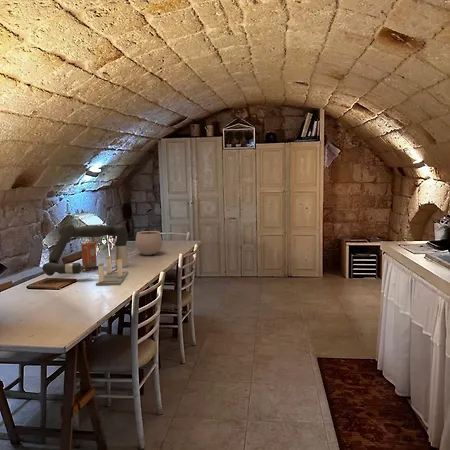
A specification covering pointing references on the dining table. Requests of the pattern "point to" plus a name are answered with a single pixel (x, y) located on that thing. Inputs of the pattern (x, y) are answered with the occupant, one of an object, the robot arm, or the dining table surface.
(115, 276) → the base
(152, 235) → the plant pot
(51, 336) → the dining table surface
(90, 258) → the orange carton box
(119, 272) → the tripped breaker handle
